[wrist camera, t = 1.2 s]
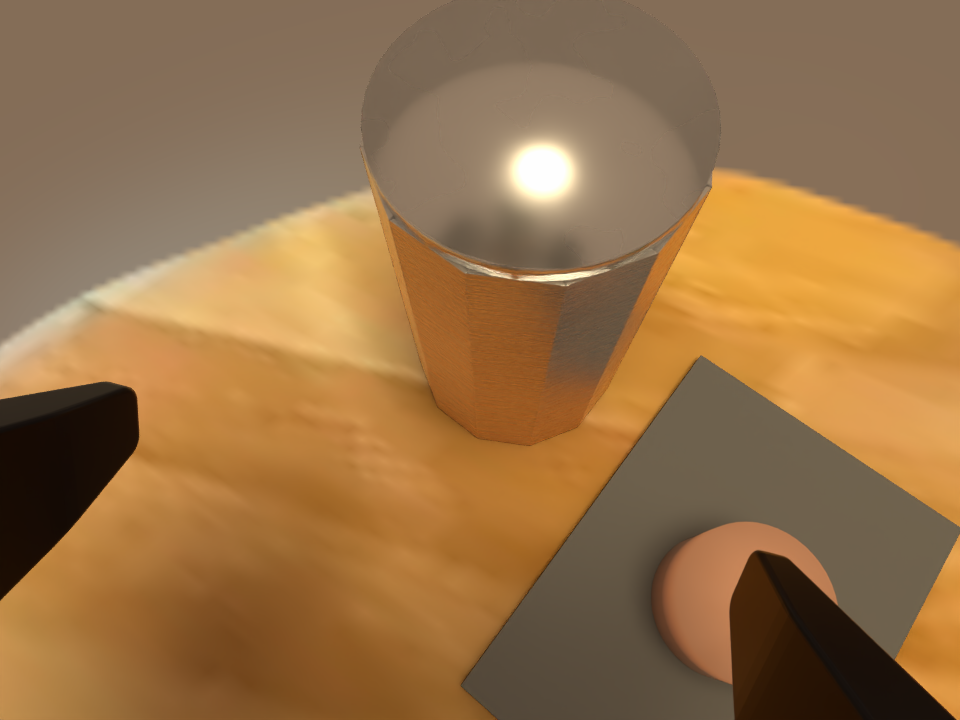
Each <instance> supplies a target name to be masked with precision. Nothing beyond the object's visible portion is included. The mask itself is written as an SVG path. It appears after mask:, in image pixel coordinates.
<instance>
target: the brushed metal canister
mask: <svg viewBox="0 0 960 720" xmlns="http://www.w3.org/2000/svg"><path fill="white" fill-rule="evenodd" d="M361 131H362V141H361V144H360V150H361V154H362V157H363V161H364V164H365V168H366V172H367V175H368V178H369V182H370V186H371V189H372V193H373V196H374V200H375V203H376V207H377V210H378V214H379V217H380V221H381V224H382V228H383V231H384V235H385V239H386V242H387V246H388V249H389V253H390V256H391V260H392V263H393V267H394V270H395V274H396V277H397V281H398V284H399V288H400V291H401V295H402V298H403V302H404V306H405V309H406V313H407V316H408V320H409V323H410V327H411V330H412V334H413V337H414V341H415V344H416V348H417V351H418V355H419V358H420V362H421V364H422V367H423V370H424V372H425V375H426V377H427V380H428V383H429V385H430V388H431V391H432V393H433V396H434V398H435V401H436V404H437V407H438V408H440V409H441V410H442V411H443V412H445V413H446V414H447V415H449V416H450V417H451V418H452V419H454V420H455V421H456V422H458V423H459V424H460V425H461V426H463V427H464V428H465V429H467V430H468V431H469V432H470V433H472V434H473V435H474V436H476V437H477V438H479V439H486V440H493V441H500V442H507V443H514V444H521V445H528V446H530V445H533V444H535V443H538V442H541V441H543V440H546V439H548V438H551V437H553V436H556V435H559V434H561V433H564V432H566V431H569V430H571V429H574V428H576V427H578V426H579V425H580V423H581V422H582V421H583V419H584V418H585V417H586V415H587V414H588V413H589V411H590V410H591V409H592V408H593V406H594V405H595V404H596V402H597V401H598V400H599V398H600V397H601V396H602V395H603V393H604V392H605V391H606V389H607V388H608V386H609V384H610V382H611V380H612V378H613V377H614V375H615V373H616V371H617V369H618V367H619V365H620V363H621V361H622V359H623V357H624V355H625V353H626V352H627V350H628V348H629V346H630V344H631V342H632V340H633V338H634V336H635V334H636V332H637V330H638V328H639V327H640V325H641V323H642V321H643V319H644V317H645V315H646V313H647V311H648V309H649V307H650V305H651V303H652V301H653V300H654V298H655V296H656V294H657V292H658V290H659V288H660V286H661V284H662V282H663V280H664V278H665V276H666V275H667V273H668V271H669V269H670V267H671V265H672V263H673V261H674V259H675V257H676V255H677V253H678V251H679V250H680V248H681V246H682V244H683V242H684V240H685V238H686V236H687V234H688V232H689V230H690V228H691V226H692V224H693V223H694V221H695V219H696V217H697V215H698V213H699V211H700V209H701V207H702V205H703V203H704V201H705V199H706V198H707V196H708V194H709V192H710V190H711V188H712V171H713V169H714V166H715V162H716V159H717V155H718V152H719V146H720V136H721V123H720V111H719V106H718V102H717V98H716V94H715V91H714V89H713V86H712V84H711V81H710V79H709V76H708V75H707V73H706V71H705V70H704V68H703V66H702V64H701V63H700V61H699V60H698V58H697V57H696V56H695V54H694V53H693V52H692V51H691V50H690V48H689V47H688V46H687V44H686V43H685V42H684V41H683V40H681V39H680V38H679V37H678V36H677V35H676V34H675V33H674V32H673V31H672V30H671V29H669V28H668V27H667V26H666V25H664V24H663V23H662V22H660V21H659V20H658V19H656V18H655V17H653V16H651V15H650V14H648V13H646V12H645V11H643V10H641V9H640V8H638V7H635V6H633V5H631V4H629V3H627V2H625V1H622V0H453V1H451V2H449V3H447V4H445V5H443V6H441V7H439V8H437V9H435V10H433V11H432V12H430V13H429V14H427V15H425V16H424V17H422V18H420V19H419V20H418V21H417V22H415V23H414V24H413V25H412V26H410V27H409V28H408V29H407V30H405V31H404V32H403V33H402V34H401V35H400V36H399V37H398V38H397V39H396V40H395V41H394V42H393V43H392V44H391V46H390V47H389V48H388V50H387V51H386V53H385V54H384V55H383V56H382V58H381V59H380V61H379V63H378V65H377V66H376V68H375V70H374V72H373V74H372V76H371V78H370V81H369V84H368V86H367V89H366V92H365V96H364V102H363V107H362V119H361Z"/></svg>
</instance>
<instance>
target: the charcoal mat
mask: <svg viewBox="0 0 960 720" xmlns="http://www.w3.org/2000/svg"><path fill="white" fill-rule="evenodd" d="M735 522H757V523H762V524H766V525H769V526H772V527H775V528H778V529H780V530H782V531H784V532H786V533H788V534H789V535H791V536H792V537H794V538H796V539H797V540H798V541H799V542H801V543H802V544H803V545H804V546H806V547H807V548H808V549H809V551H810V552H811V553H812V554H813V555H814V556H815V557H816V558H817V560H818V561H819V562H820V563H821V565H822V567H823V568H824V570H825V571H826V573H827V575H828V577H829V579H830V581H831V583H832V586H833V589H834V592H835V594H836V599H837V603H838V606H839V607H840V608H841V609H842V610H843V611H844V612H845V613H846V614H847V615H848V616H849V617H850V618H851V619H852V620H853V621H854V622H855V623H856V624H858V625H859V626H860V627H861V628H862V629H863V630H864V631H865V632H866V633H867V634H868V635H869V636H870V637H871V638H872V639H873V640H874V641H875V642H876V643H877V644H878V645H879V646H880V647H881V648H882V649H884V650H885V651H886V652H887V653H888V654H889V655H890V656H891V657H892V658H893V659H894V660H895V658H896V656H897V654H898V652H899V650H900V648H901V646H902V644H903V642H904V641H905V639H906V637H907V635H908V633H909V631H910V629H911V627H912V625H913V623H914V621H915V619H916V617H917V615H918V613H919V612H920V610H921V608H922V606H923V604H924V602H925V600H926V598H927V596H928V594H929V592H930V590H931V588H932V586H933V584H934V583H935V581H936V579H937V577H938V575H939V573H940V571H941V569H942V567H943V565H944V563H945V561H946V559H947V557H948V555H949V553H950V552H951V550H952V548H953V546H954V544H955V542H956V540H957V538H958V536H959V534H960V527H959V526H957V525H956V524H954V523H953V522H951V521H950V520H948V519H947V518H945V517H944V516H942V515H941V514H939V513H938V512H936V511H935V510H933V509H932V508H930V507H929V506H927V505H926V504H924V503H923V502H921V501H920V500H918V499H917V498H915V497H914V496H912V495H911V494H909V493H908V492H906V491H905V490H903V489H902V488H900V487H898V486H897V485H895V484H894V483H892V482H891V481H889V480H888V479H886V478H885V477H883V476H882V475H880V474H879V473H877V472H876V471H874V470H873V469H871V468H870V467H868V466H867V465H865V464H864V463H862V462H861V461H859V460H858V459H856V458H855V457H853V456H852V455H850V454H849V453H847V452H846V451H844V450H843V449H841V448H840V447H838V446H837V445H835V444H834V443H832V442H831V441H829V440H828V439H826V438H825V437H823V436H822V435H820V434H819V433H817V432H816V431H814V430H813V429H811V428H810V427H808V426H807V425H805V424H804V423H802V422H801V421H799V420H798V419H796V418H795V417H793V416H792V415H790V414H789V413H787V412H786V411H784V410H783V409H781V408H780V407H778V406H777V405H775V404H774V403H772V402H771V401H769V400H768V399H766V398H765V397H763V396H762V395H760V394H759V393H757V392H756V391H754V390H753V389H751V388H750V387H748V386H747V385H745V384H744V383H742V382H741V381H739V380H738V379H736V378H735V377H733V376H732V375H730V374H729V373H727V372H726V371H724V370H723V369H721V368H720V367H718V366H717V365H715V364H714V363H712V362H711V361H709V360H708V359H706V358H705V357H703V356H702V355H701V356H700V357H699V358H698V360H697V361H696V363H695V364H694V365H693V367H692V368H691V369H690V371H689V372H688V374H687V375H686V376H685V378H684V379H683V380H682V382H681V383H680V385H679V386H678V387H677V389H676V390H675V391H674V393H673V394H672V396H671V397H670V398H669V400H668V401H667V402H666V404H665V405H664V407H663V408H662V409H661V411H660V412H659V413H658V415H657V416H656V418H655V419H654V420H653V422H652V423H651V424H650V426H649V427H648V429H647V430H646V431H645V433H644V434H643V435H642V437H641V438H640V440H639V441H638V442H637V444H636V445H635V446H634V448H633V449H632V451H631V452H630V453H629V455H628V456H627V457H626V459H625V460H624V462H623V463H622V464H621V466H620V467H619V468H618V470H617V471H616V473H615V474H614V475H613V477H612V478H611V479H610V481H609V482H608V484H607V485H606V486H605V488H604V489H603V490H602V492H601V493H600V495H599V496H598V497H597V499H596V500H595V501H594V503H593V504H592V506H591V507H590V508H589V510H588V511H587V512H586V514H585V515H584V517H583V518H582V519H581V521H580V522H579V523H578V525H577V526H576V528H575V529H574V530H573V532H572V533H571V534H570V536H569V537H568V539H567V540H566V541H565V543H564V544H563V545H562V547H561V548H560V550H559V551H558V552H557V554H556V555H555V556H554V558H553V559H552V561H551V562H550V563H549V565H548V566H547V567H546V569H545V570H544V572H543V573H542V574H541V576H540V577H539V578H538V580H537V581H536V583H535V584H534V585H533V587H532V588H531V589H530V591H529V592H528V594H527V595H526V596H525V598H524V599H523V600H522V602H521V603H520V605H519V606H518V607H517V609H516V610H515V611H514V613H513V614H512V616H511V617H510V618H509V620H508V621H507V622H506V624H505V625H504V627H503V628H502V629H501V631H500V632H499V633H498V635H497V636H496V638H495V639H494V640H493V642H492V643H491V644H490V646H489V647H488V649H487V650H486V651H485V653H484V654H483V655H482V657H481V658H480V660H479V661H478V662H477V664H476V665H475V667H474V668H473V669H472V671H471V672H470V673H469V675H468V676H467V678H466V679H465V680H464V682H463V683H462V684H461V686H462V687H463V688H464V689H465V690H466V691H467V692H468V693H469V694H470V695H471V696H473V697H474V698H475V699H476V700H477V701H478V702H479V703H480V704H481V705H483V706H484V707H485V708H486V709H487V710H488V711H489V712H490V713H491V714H492V715H494V716H495V717H496V718H497V719H498V720H734V706H733V685H732V684H728V683H725V682H721V681H718V680H715V679H711V678H708V677H706V676H703V675H701V674H699V673H697V672H695V671H693V670H692V669H690V668H689V667H687V666H686V665H685V664H683V663H682V662H681V661H680V660H679V659H678V658H677V657H676V656H675V655H674V654H673V653H672V652H671V651H670V649H669V648H668V647H667V645H666V644H665V642H664V641H663V639H662V637H661V635H660V633H659V631H658V628H657V626H656V623H655V620H654V616H653V612H652V604H651V591H652V583H653V580H654V576H655V573H656V570H657V568H658V566H659V564H660V562H661V561H662V559H663V558H664V557H665V555H666V554H667V553H668V552H669V551H670V550H671V549H672V548H673V547H674V546H676V545H677V544H678V543H680V542H682V541H684V540H685V539H687V538H690V537H693V536H695V535H698V534H701V533H703V532H706V531H709V530H711V529H714V528H717V527H719V526H722V525H725V524H729V523H735Z"/></svg>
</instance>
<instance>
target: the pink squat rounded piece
mask: <svg viewBox="0 0 960 720" xmlns="http://www.w3.org/2000/svg"><path fill="white" fill-rule="evenodd" d="M756 550H762V551H766V552H770V553H774V554H778V555H782V556H785V557H787V558H789V559H790V560H791V561H792V562H793V563H794V564H795V565H796V566H797V567H798V568H799V569H800V570H801V571H802V572H803V573H804V574H805V575H807V576H808V577H809V578H810V579H811V580H812V581H813V582H814V583H815V584H816V585H817V586H818V587H819V588H820V589H821V590H822V591H823V592H824V593H825V594H826V595H827V596H828V597H829V598H830V599H831V600H833V601H834V602H835V603H836V604H837V605H838V603H837V599H836V594H835V592H834V589H833V586H832V583H831V581H830V579H829V577H828V575H827V573H826V571H825V570H824V568H823V567H822V565H821V563H820V562H819V561H818V560H817V558H816V557H815V556H814V555H813V554H812V553H811V552H810V551H809V549H808V548H807V547H806V546H804V545H803V544H802V543H801V542H799V541H798V540H797V539H796V538H794V537H792V536H791V535H789V534H788V533H786V532H784V531H782V530H780V529H778V528H775V527H772V526H769V525H766V524H762V523H757V522H735V523H729V524H725V525H722V526H719V527H717V528H714V529H711V530H709V531H706V532H703V533H701V534H698V535H695V536H693V537H690V538H687V539H685V540H684V541H682V542H680V543H678V544H677V545H676V546H674V547H673V548H672V549H671V550H670V551H669V552H668V553H667V554H666V555H665V557H664V558H663V559H662V561H661V562H660V564H659V566H658V568H657V570H656V573H655V576H654V580H653V583H652V591H651V604H652V612H653V616H654V620H655V623H656V626H657V628H658V631H659V633H660V635H661V637H662V639H663V641H664V642H665V644H666V645H667V647H668V648H669V649H670V651H671V652H672V653H673V654H674V655H675V656H676V657H677V658H678V659H679V660H680V661H681V662H682V663H683V664H685V665H686V666H687V667H689V668H690V669H692V670H693V671H695V672H697V673H699V674H701V675H703V676H706V677H708V678H711V679H715V680H718V681H721V682H725V683H728V684H732V663H731V641H730V620H729V608H730V601H731V597H732V594H733V592H734V589H735V587H736V585H737V583H738V580H739V578H740V576H741V574H742V571H743V569H744V567H745V565H746V562H747V560H748V558H749V556H750V555H751V554H752V552H754V551H756Z"/></svg>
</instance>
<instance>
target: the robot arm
mask: <svg viewBox="0 0 960 720" xmlns="http://www.w3.org/2000/svg"><path fill="white" fill-rule="evenodd" d="M138 441H139V421H138V404H137V395H136V393H135V391H134V390H133V389H132V388H130V387H127V386H123V385H119V384H115V383H111V382H98V383H93V384H87V385H81V386H75V387H70V388H64V389H58V390H52V391H47V392H41V393H35V394H29V395H24V396H18V397H12V398H6V399H1V400H0V600H1V599H2V598H3V597H4V596H5V595H6V594H7V593H8V592H9V591H10V590H11V589H12V588H13V587H14V586H15V585H16V584H17V583H18V582H19V581H20V580H21V579H22V578H23V577H24V576H25V575H26V574H27V573H28V572H29V571H30V570H31V569H32V568H33V567H34V566H35V565H36V564H37V563H38V562H39V561H40V560H41V559H42V558H43V557H44V556H45V555H46V554H47V553H48V552H49V551H50V550H51V549H52V548H53V547H54V546H55V545H56V544H57V543H58V542H59V541H60V540H61V539H62V538H63V537H64V535H65V534H66V533H67V532H68V531H69V530H70V529H71V528H72V527H73V525H74V524H75V523H76V522H77V521H78V520H79V518H80V517H81V516H82V515H83V514H84V512H85V511H86V510H87V509H88V507H89V506H90V505H91V504H92V503H93V501H94V500H95V499H96V498H97V496H98V495H99V494H100V493H101V492H102V490H103V489H104V488H105V487H106V485H107V484H108V483H109V482H110V481H111V479H112V478H113V477H114V476H115V474H116V473H117V472H118V471H119V470H120V468H121V467H122V466H123V465H124V463H125V462H126V461H127V460H128V459H129V457H130V456H131V455H132V454H133V452H134V451H135V449H136V447H137V444H138ZM729 620H730V641H731V663H732V685H733V706H734V720H956V719H955V718H954V717H953V716H952V715H951V714H950V713H949V712H948V711H947V710H946V709H945V708H944V707H943V706H942V705H941V704H940V703H939V702H938V701H937V700H936V699H935V698H934V697H932V696H931V695H930V694H929V693H928V692H927V691H926V690H925V689H924V688H923V687H922V686H921V685H920V684H919V683H918V682H917V681H916V680H915V679H914V678H913V677H912V676H911V675H910V674H909V673H907V672H906V671H905V670H904V669H903V668H902V667H901V666H900V665H899V664H898V663H897V662H896V661H895V660H894V659H893V658H892V657H891V656H890V655H889V654H888V653H887V652H886V651H885V650H884V649H882V648H881V647H880V646H879V645H878V644H877V643H876V642H875V641H874V640H873V639H872V638H871V637H870V636H869V635H868V634H867V633H866V632H865V631H864V630H863V629H862V628H861V627H860V626H859V625H858V624H856V623H855V622H854V621H853V620H852V619H851V618H850V617H849V616H848V615H847V614H846V613H845V612H844V611H843V610H842V609H841V608H840V607H839V606H838V605H837V604H836V603H835V602H834V601H833V600H831V599H830V598H829V597H828V596H827V595H826V594H825V593H824V592H823V591H822V590H821V589H820V588H819V587H818V586H817V585H816V584H815V583H814V582H813V581H812V580H811V579H810V578H809V577H808V576H807V575H805V574H804V573H803V572H802V571H801V570H800V569H799V568H798V567H797V566H796V565H795V564H794V563H793V562H792V561H791V560H790V559H789V558H787V557H785V556H782V555H778V554H774V553H770V552H766V551H762V550H756V551H754V552H752V554H751V555H750V556H749V558H748V560H747V562H746V565H745V567H744V569H743V571H742V574H741V576H740V578H739V580H738V583H737V585H736V587H735V589H734V592H733V594H732V597H731V601H730V608H729Z"/></svg>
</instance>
